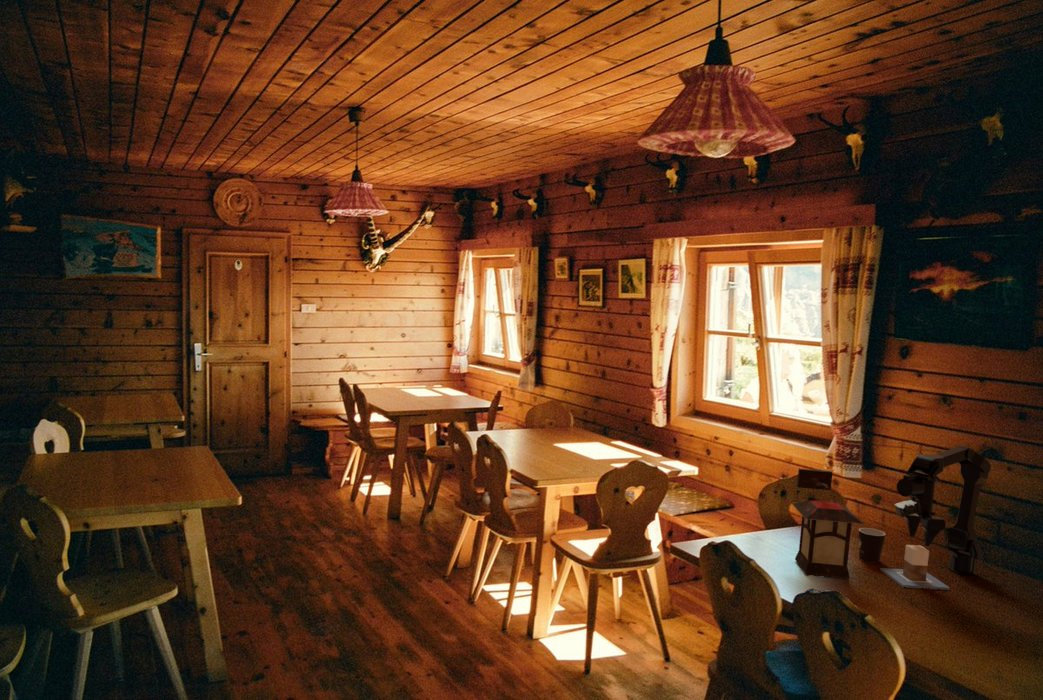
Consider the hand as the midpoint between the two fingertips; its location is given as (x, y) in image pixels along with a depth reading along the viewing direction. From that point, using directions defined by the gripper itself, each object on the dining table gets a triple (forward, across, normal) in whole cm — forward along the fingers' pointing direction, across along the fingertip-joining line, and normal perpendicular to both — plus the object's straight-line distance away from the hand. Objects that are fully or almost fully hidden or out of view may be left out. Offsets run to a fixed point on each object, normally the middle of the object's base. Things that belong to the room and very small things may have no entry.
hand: (919, 541), depth 255 cm
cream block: (+7, 0, -1) cm, 7 cm away
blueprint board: (+13, 0, -1) cm, 13 cm away
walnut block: (+12, 0, -1) cm, 12 cm away
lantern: (+13, -8, -29) cm, 33 cm away
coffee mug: (+13, -19, -6) cm, 24 cm away
